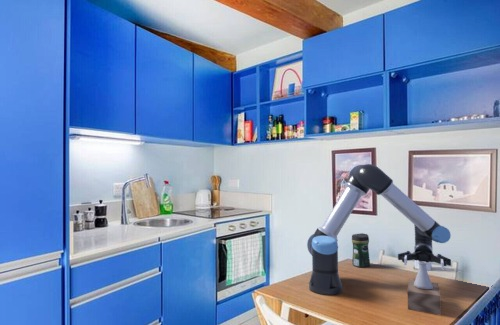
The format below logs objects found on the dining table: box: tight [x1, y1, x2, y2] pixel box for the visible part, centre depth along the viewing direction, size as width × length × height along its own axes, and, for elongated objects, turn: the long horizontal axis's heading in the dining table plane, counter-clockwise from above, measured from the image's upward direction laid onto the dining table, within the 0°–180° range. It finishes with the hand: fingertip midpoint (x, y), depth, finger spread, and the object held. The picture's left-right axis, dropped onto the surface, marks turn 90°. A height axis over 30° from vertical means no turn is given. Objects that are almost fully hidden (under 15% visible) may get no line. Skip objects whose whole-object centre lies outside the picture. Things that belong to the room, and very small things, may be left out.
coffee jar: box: [351, 232, 371, 268], centre depth 185 cm, size 10×8×19 cm
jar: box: [413, 246, 433, 272], centre depth 178 cm, size 9×8×12 cm
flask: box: [414, 261, 433, 289], centre depth 128 cm, size 7×7×10 cm
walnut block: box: [406, 278, 442, 316], centre depth 128 cm, size 11×16×7 cm
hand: (423, 263), depth 130 cm, fingers open, 13 cm apart
